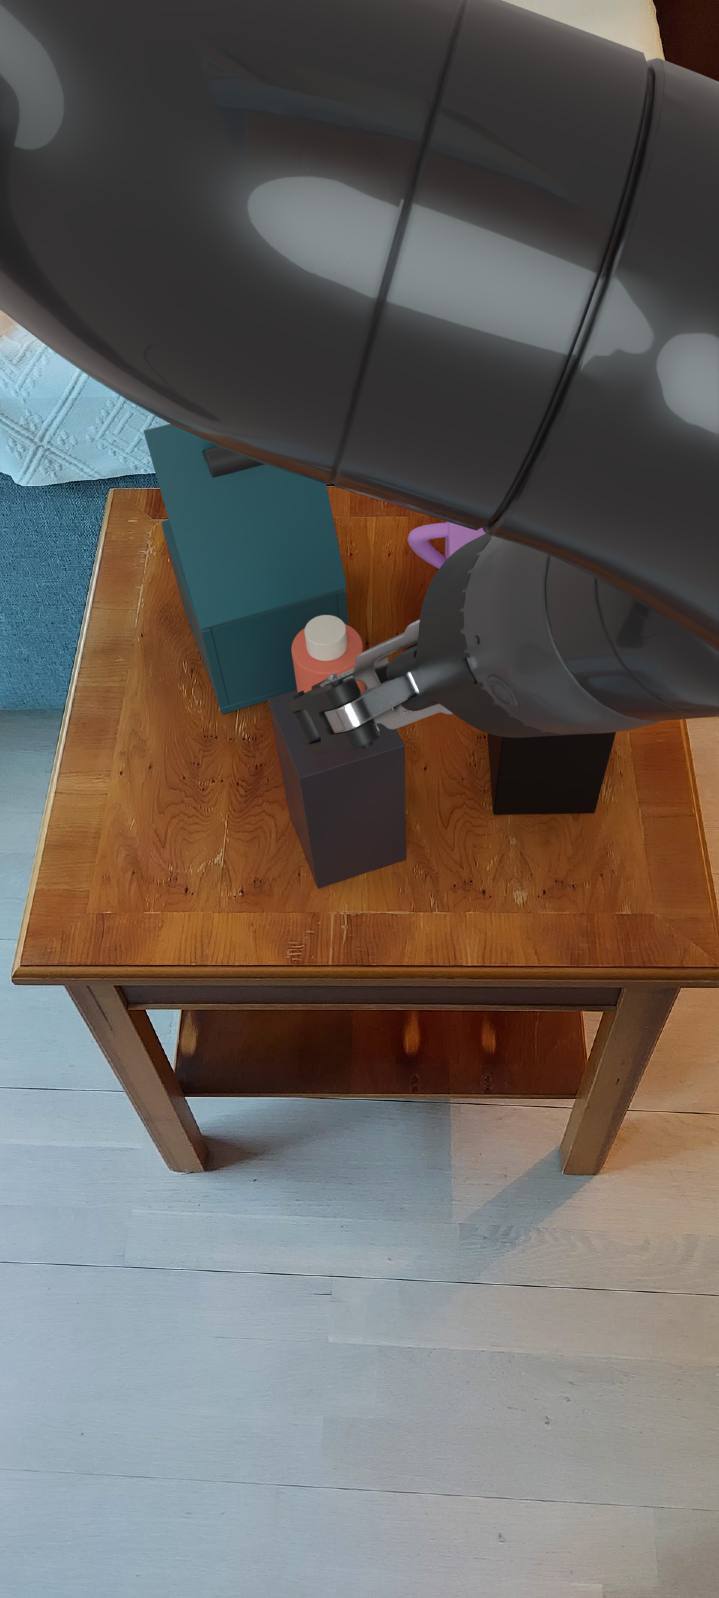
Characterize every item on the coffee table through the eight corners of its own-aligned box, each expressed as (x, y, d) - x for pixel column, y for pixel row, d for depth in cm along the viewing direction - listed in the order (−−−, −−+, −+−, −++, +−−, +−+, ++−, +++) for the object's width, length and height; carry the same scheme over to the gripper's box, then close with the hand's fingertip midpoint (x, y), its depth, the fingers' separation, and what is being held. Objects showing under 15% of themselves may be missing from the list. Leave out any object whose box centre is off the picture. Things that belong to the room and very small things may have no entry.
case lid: (143, 430, 68) (151, 441, 64) (305, 389, 70) (323, 398, 65) (199, 626, 75) (209, 648, 71) (344, 585, 77) (363, 604, 73)
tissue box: (595, 815, 76) (673, 524, 53) (491, 817, 76) (524, 528, 53) (583, 734, 80) (650, 432, 57) (485, 736, 81) (513, 437, 58)
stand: (317, 889, 74) (299, 778, 62) (289, 815, 77) (267, 698, 66) (406, 859, 75) (404, 745, 63) (374, 788, 78) (367, 668, 67)
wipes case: (183, 606, 91) (160, 521, 83) (304, 572, 93) (293, 485, 85) (221, 714, 83) (201, 632, 75) (352, 675, 85) (346, 591, 77)
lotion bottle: (314, 755, 63) (301, 665, 56) (294, 707, 65) (279, 615, 58) (376, 735, 64) (371, 644, 57) (354, 689, 66) (347, 595, 59)
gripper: (695, 429, 34) (489, 534, 49) (336, 605, 30) (235, 658, 46) (776, 632, 35) (550, 672, 51) (440, 823, 31) (308, 803, 47)
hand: (401, 665), depth 48 cm, fingers open, 8 cm apart
